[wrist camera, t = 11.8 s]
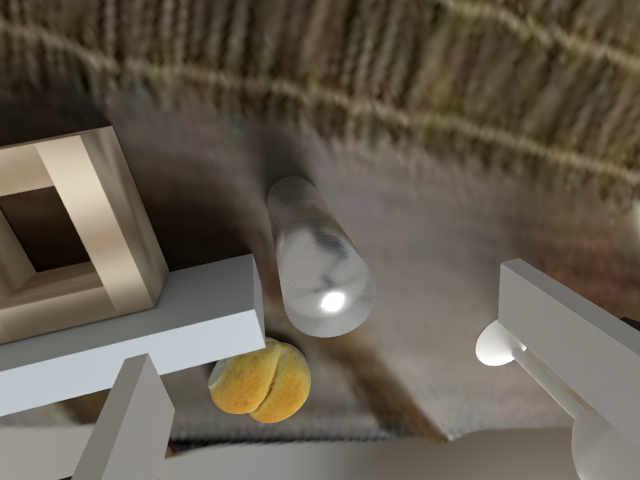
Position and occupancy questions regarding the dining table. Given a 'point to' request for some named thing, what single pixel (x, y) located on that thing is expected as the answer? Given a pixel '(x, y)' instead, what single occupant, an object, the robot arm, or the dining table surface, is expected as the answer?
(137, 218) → the square wooden frame
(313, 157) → the dining table surface
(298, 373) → the bread roll
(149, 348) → the wall
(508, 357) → the champagne flute
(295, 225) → the metal peg
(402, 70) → the dining table surface
